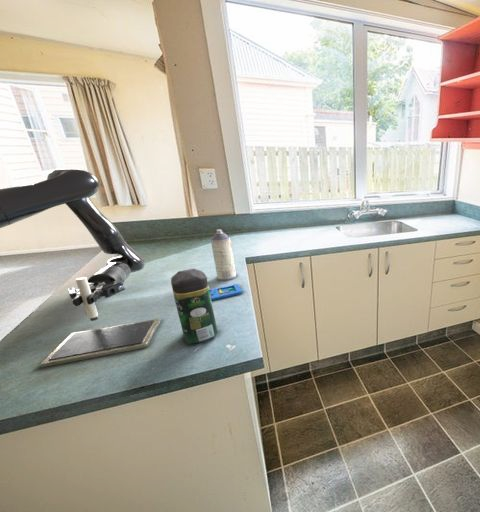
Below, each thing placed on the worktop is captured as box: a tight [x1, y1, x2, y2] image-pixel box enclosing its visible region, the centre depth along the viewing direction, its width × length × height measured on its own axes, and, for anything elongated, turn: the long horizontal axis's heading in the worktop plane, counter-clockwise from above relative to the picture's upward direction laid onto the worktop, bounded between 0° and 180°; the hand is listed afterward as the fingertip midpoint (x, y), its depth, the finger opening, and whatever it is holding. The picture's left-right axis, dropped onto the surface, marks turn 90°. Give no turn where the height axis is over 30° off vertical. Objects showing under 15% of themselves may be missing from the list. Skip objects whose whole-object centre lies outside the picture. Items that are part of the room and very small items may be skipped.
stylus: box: [75, 276, 99, 322], centre depth 84 cm, size 2×2×13 cm
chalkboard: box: [40, 318, 162, 368], centre depth 78 cm, size 20×14×1 cm
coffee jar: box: [170, 268, 218, 344], centre depth 79 cm, size 10×8×19 cm
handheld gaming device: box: [209, 283, 243, 301], centre depth 106 cm, size 8×1×15 cm
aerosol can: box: [210, 229, 237, 282], centre depth 118 cm, size 7×7×20 cm
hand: (82, 302), depth 82 cm, fingers closed on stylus, 2 cm apart
